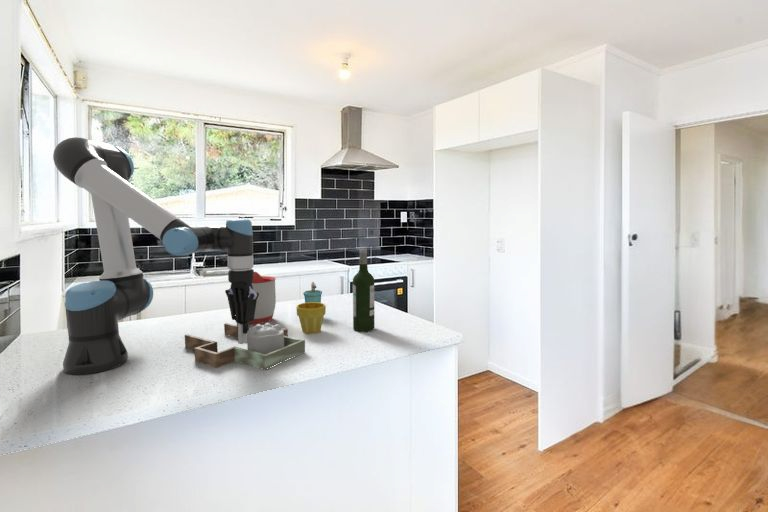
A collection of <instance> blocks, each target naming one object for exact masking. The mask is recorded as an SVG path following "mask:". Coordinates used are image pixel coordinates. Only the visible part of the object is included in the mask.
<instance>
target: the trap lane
mask: <svg viewBox="0 0 768 512" xmlns="http://www.w3.org/2000/svg"><path fill="white" fill-rule="evenodd" d="M223 327H224V329H223V330H224V335H225V336H228V337H232V338H237V339H238V331H237V324H232V323H227V322H226V323H224V324H223ZM250 328H251V327H249V329H250ZM281 329H283V331H284V347H283V348H280V349H278V350H275V351H273V352H270V353H268V354H262V353H258V352H254V351H250V350H248V349H247V348H246V349H245V348H242V347H239V346H231V347H228V348H225V349H223V350H220V351H219V349H218V341H215V340H211V339H208V338H204V337H200V336H196V335H192V334H189V333H186V334H184V347H185V348H188V349H191V350H193V351H194V361H195V362H197V363H198V364H199V363H200V364H203V365H206V366H209V367H213V368H216V369H218V368H220V367H223V366H226V365H228V364H230V363H233V362H237V363H241V364H243V365H248V366H250V365H251V366H250V367H253V366H255V367H254V368H257V367H258V368H257V369H260V368H263V369H262V370H264V369H267V368H269V369H271V368H270V367H272V366H274V365H276V364H278V363H280V362H283V361H285V360H287V359H289V358H292V357H294V356H296V357H298V356H297V355H299V354H301V353H303V354H305V353H306V341H305V339H300V338H297V337H292V336H289V329H288V328H285V327H281ZM304 352H305V353H304ZM301 355H302V354H301ZM299 356H300V355H299ZM294 358H295V357H294ZM292 359H293V358H292ZM287 361H288V360H287ZM285 362H286V361H285ZM283 363H284V362H283ZM278 365H279V364H278ZM276 366H277V365H276ZM274 367H275V366H274ZM272 368H273V367H272ZM267 370H268V369H267Z"/></svg>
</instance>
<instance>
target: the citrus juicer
mask: <svg viewBox="0 0 768 512" xmlns="http://www.w3.org/2000/svg"><path fill="white" fill-rule="evenodd" d="M252 286H253V291H254V292H255V293H257V292H258V293H259V296H258V298H257V302H256V308H255V315H254V321H251V322H249V325H252V324H253V325H255V324H256V325H257V324H265V323H270V321H271V320H272V319H273V318H274V314H275V309H276V303H277V302H276V300H277V299H276V297H277V296H276V277H274V276H269V275H268V276H266V275H263V276H262V275H260V273H259V272H257V271H254V280H253V281H252Z"/></svg>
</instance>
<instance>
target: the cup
mask: <svg viewBox="0 0 768 512" xmlns="http://www.w3.org/2000/svg"><path fill="white" fill-rule="evenodd" d="M316 288H317V285H316V283H315V282H314V281H311V289H310V290H305V291H304V292H303V296H304V297H303V298H304V303H307V302H319V303H322V295H323V291H322V290H319V289H316Z"/></svg>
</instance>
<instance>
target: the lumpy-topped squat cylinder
mask: <svg viewBox="0 0 768 512" xmlns="http://www.w3.org/2000/svg"><path fill="white" fill-rule="evenodd" d="M249 328H250V329H249V330H248V331H247V350H250V351H254V352H258V353H262V354H268V353H270V352H273V351H275V350H278V349H280V348H283V347H284V331H283V329H281V328H282V326H281V325H280V324H278V323H277V324H274V325H273V324H271V323H270V322H264V323H263V324H262V323H257V324H256V325H254V326H253V327H249Z"/></svg>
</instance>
